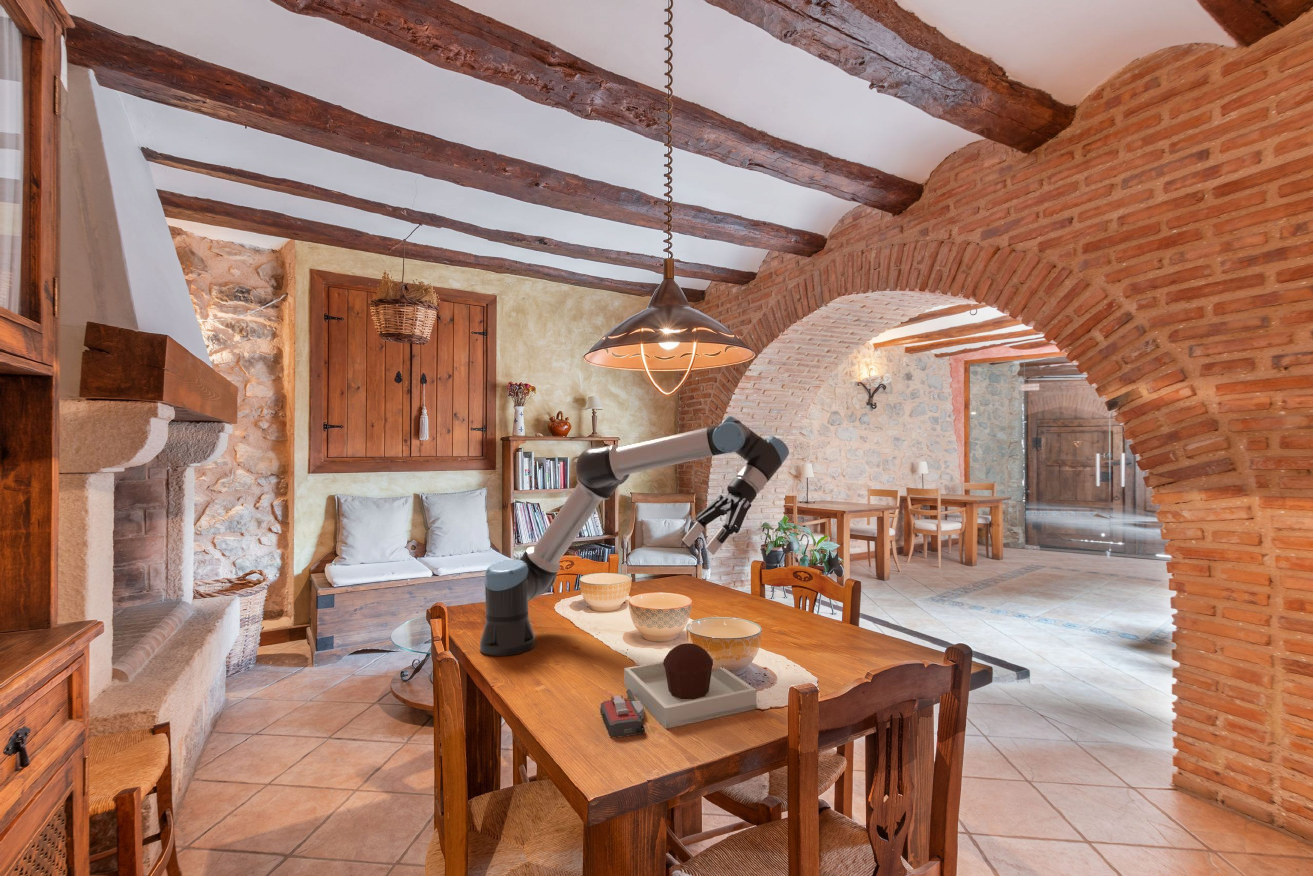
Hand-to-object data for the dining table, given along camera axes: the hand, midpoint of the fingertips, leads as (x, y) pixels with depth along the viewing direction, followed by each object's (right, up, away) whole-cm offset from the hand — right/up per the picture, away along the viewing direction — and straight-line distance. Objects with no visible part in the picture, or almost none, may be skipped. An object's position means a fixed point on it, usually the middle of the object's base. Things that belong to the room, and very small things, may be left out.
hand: (696, 547), depth 155 cm
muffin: (-3, -29, -20) cm, 35 cm away
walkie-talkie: (-17, -30, -29) cm, 46 cm away
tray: (-4, -30, -20) cm, 36 cm away
